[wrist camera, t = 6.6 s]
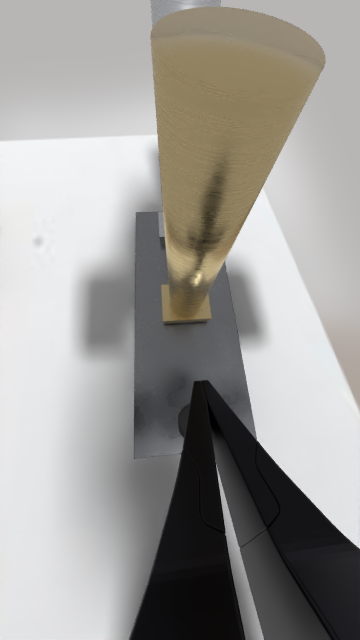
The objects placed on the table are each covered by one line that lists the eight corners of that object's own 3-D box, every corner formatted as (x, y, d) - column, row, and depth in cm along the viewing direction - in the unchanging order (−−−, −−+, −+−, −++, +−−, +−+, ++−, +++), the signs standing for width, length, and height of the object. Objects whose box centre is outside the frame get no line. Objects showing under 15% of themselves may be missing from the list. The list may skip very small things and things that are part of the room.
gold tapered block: (209, 321, 14) (404, 105, 2) (163, 323, 14) (99, 96, 2) (204, 287, 15) (323, 8, 3) (162, 289, 15) (112, -6, 3)
